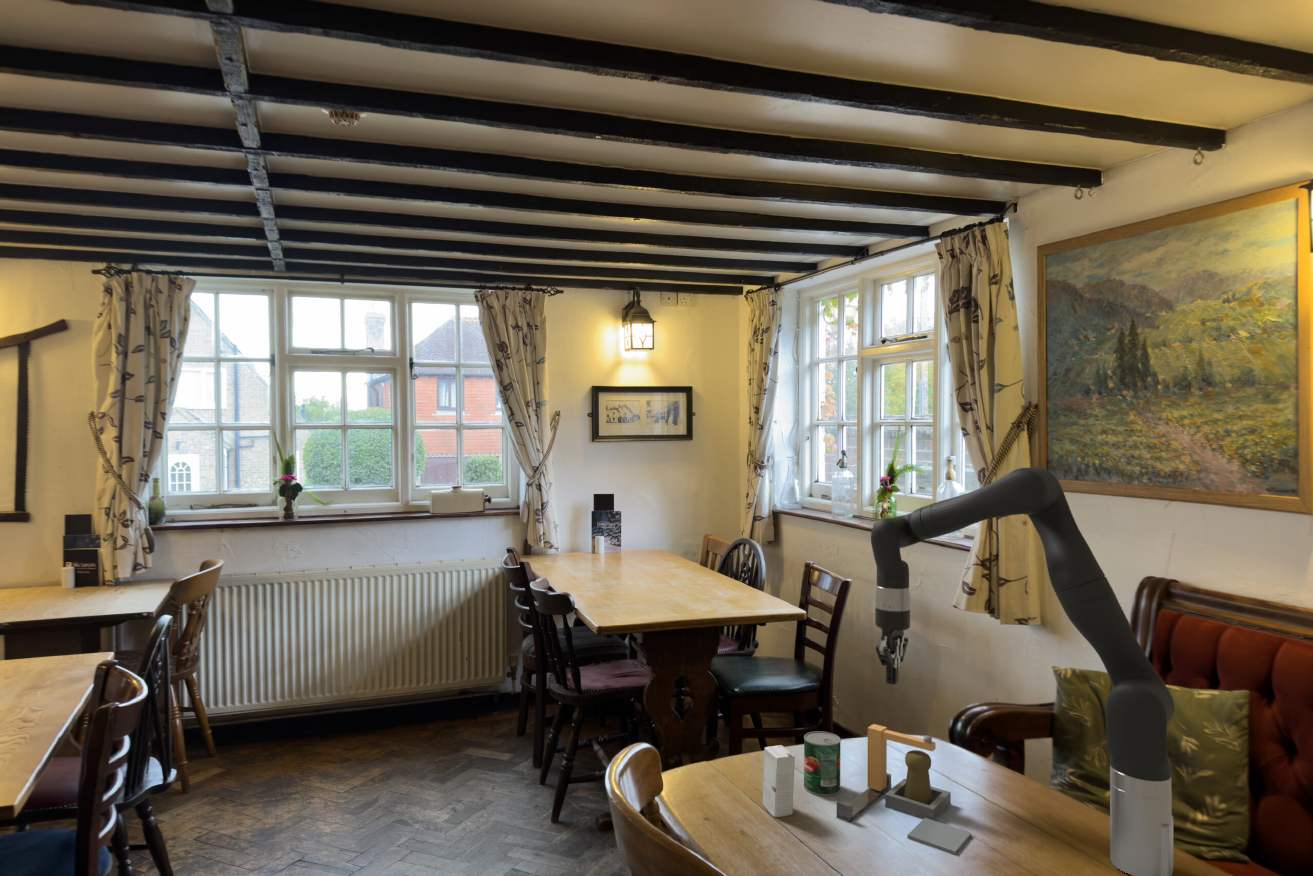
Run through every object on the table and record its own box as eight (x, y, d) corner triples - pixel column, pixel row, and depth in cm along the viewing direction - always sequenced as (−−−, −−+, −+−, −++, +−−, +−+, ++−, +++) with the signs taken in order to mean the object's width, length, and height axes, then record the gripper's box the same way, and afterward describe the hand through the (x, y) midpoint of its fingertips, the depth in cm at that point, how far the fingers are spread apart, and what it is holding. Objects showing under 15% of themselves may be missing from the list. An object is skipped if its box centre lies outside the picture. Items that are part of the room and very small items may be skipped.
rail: (891, 788, 164) (891, 774, 165) (850, 822, 149) (850, 807, 149) (878, 784, 166) (878, 770, 166) (836, 817, 151) (836, 802, 151)
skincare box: (761, 804, 156) (762, 746, 157) (781, 802, 158) (781, 744, 158) (775, 818, 151) (775, 758, 151) (795, 815, 152) (795, 755, 152)
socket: (950, 804, 157) (950, 792, 157) (933, 822, 150) (933, 809, 150) (904, 790, 164) (904, 778, 164) (885, 806, 156) (885, 794, 156)
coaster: (971, 835, 144) (971, 832, 144) (955, 855, 137) (955, 851, 137) (924, 820, 150) (924, 817, 150) (907, 838, 143) (907, 835, 143)
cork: (935, 813, 153) (935, 759, 153) (904, 810, 154) (904, 757, 154) (930, 800, 159) (931, 748, 159) (901, 797, 160) (901, 745, 160)
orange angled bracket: (936, 802, 156) (936, 736, 156) (931, 807, 153) (931, 740, 154) (873, 782, 165) (873, 720, 165) (867, 787, 162) (867, 724, 162)
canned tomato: (796, 786, 165) (796, 736, 165) (819, 777, 170) (819, 728, 170) (824, 800, 159) (824, 747, 159) (848, 790, 164) (848, 739, 164)
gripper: (897, 613, 162) (896, 694, 161) (920, 604, 172) (919, 680, 171) (864, 608, 166) (863, 686, 166) (888, 599, 177) (888, 673, 176)
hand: (892, 683), depth 169 cm, fingers closed
